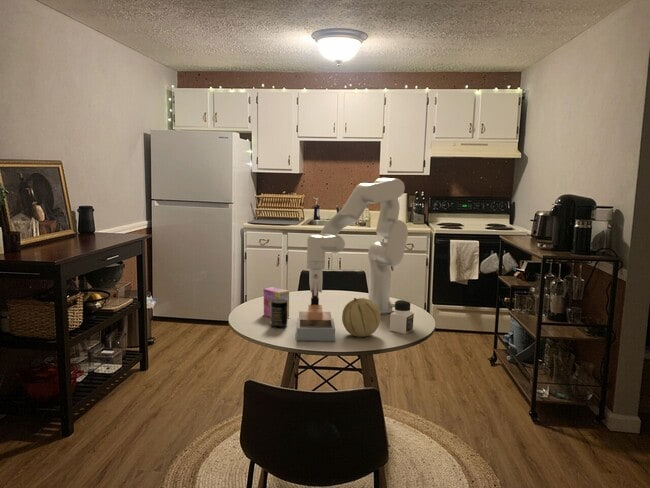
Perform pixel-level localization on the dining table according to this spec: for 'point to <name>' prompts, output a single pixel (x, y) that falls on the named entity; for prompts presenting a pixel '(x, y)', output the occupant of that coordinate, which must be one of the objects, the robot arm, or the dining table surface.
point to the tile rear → (314, 307)
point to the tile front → (315, 314)
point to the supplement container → (279, 313)
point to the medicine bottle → (401, 317)
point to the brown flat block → (324, 322)
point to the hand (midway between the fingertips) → (314, 307)
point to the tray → (315, 333)
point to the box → (274, 294)
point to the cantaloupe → (361, 317)
